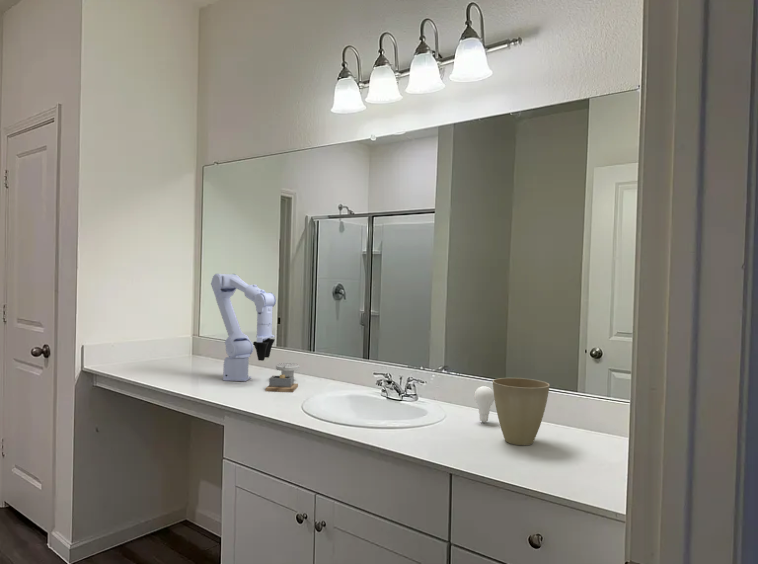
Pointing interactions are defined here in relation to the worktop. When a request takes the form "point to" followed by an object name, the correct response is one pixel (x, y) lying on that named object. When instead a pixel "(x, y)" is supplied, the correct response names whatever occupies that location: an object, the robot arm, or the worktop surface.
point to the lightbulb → (484, 401)
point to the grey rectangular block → (281, 381)
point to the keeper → (282, 389)
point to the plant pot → (520, 408)
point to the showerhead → (287, 368)
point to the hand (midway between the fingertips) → (263, 358)
